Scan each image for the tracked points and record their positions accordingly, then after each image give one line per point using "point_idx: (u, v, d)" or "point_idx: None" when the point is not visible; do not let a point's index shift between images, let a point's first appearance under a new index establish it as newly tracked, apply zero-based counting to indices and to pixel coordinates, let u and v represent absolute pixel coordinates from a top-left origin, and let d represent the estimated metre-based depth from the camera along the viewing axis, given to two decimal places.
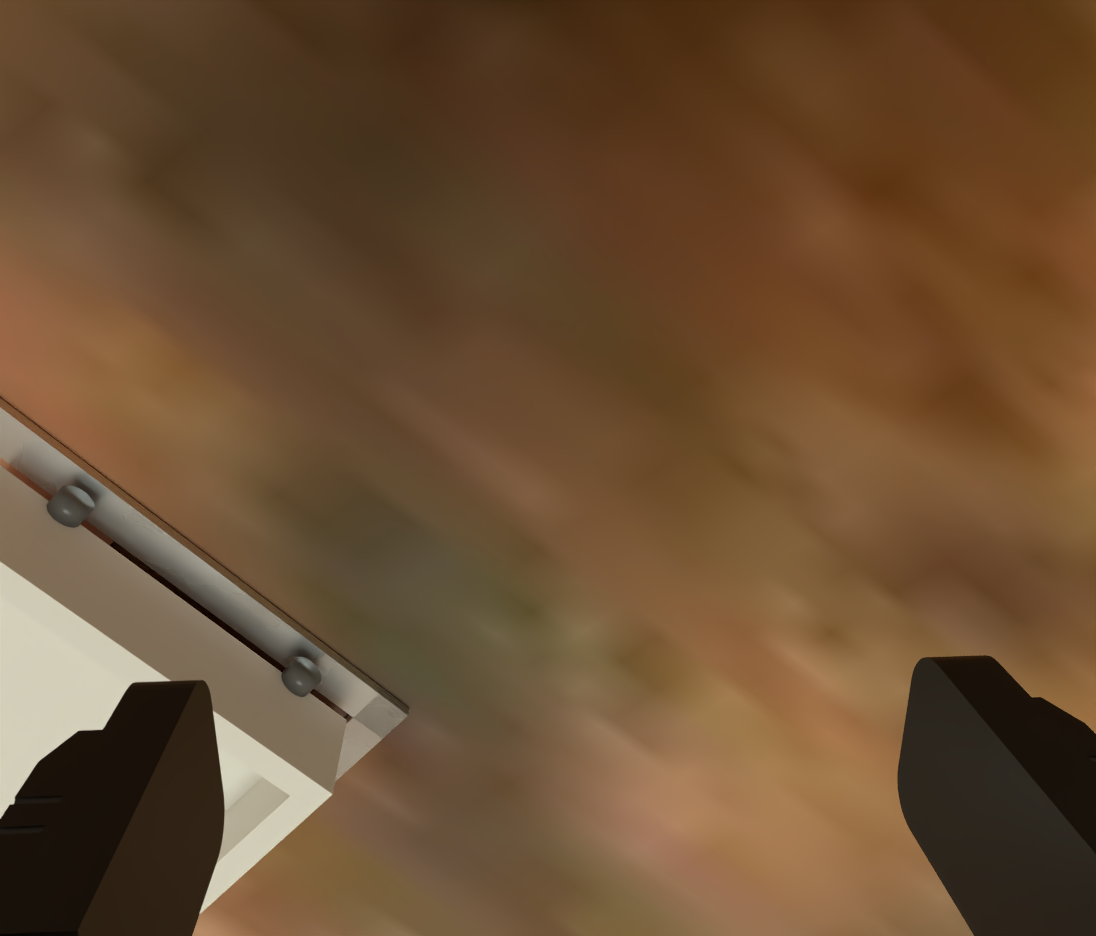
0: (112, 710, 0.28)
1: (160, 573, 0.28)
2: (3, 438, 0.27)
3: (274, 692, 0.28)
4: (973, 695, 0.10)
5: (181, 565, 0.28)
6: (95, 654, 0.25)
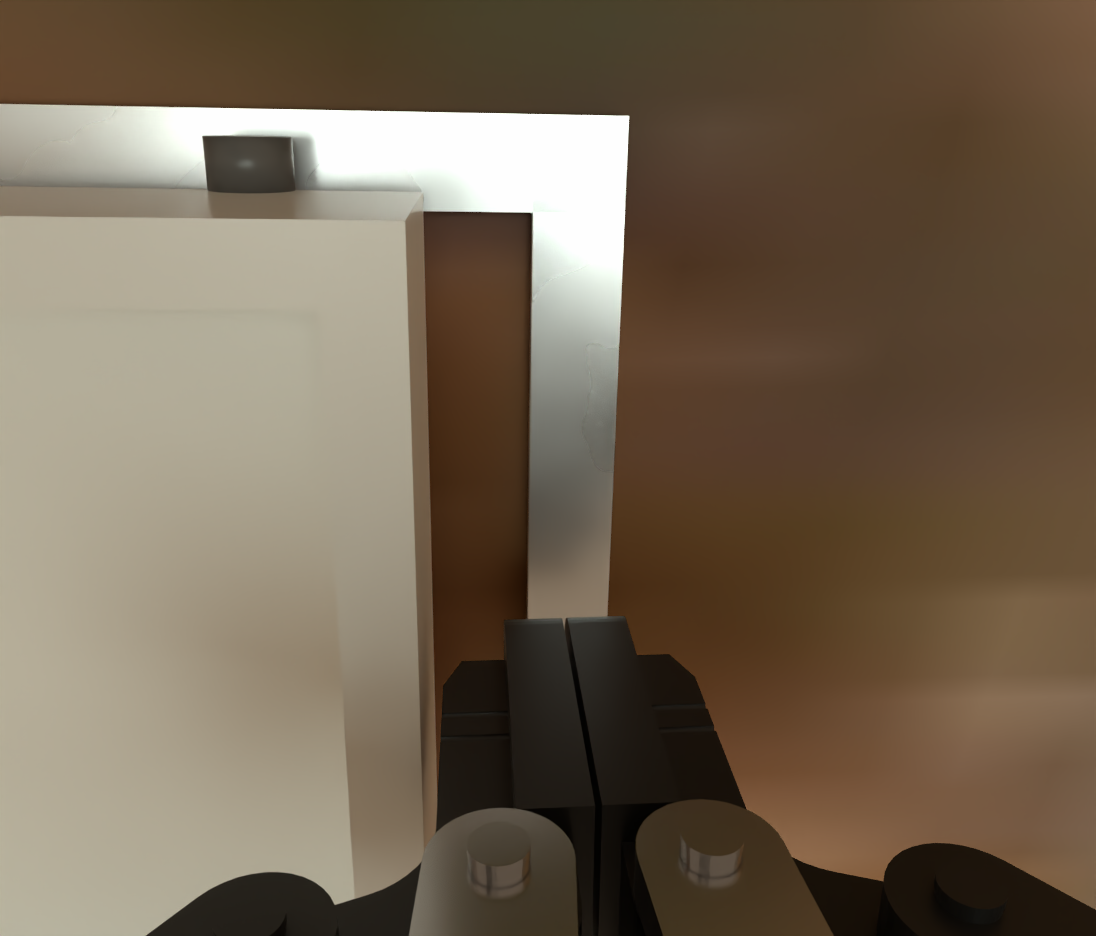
0: None
1: None
2: None
3: (181, 195, 0.11)
4: (583, 650, 0.11)
5: None
6: None
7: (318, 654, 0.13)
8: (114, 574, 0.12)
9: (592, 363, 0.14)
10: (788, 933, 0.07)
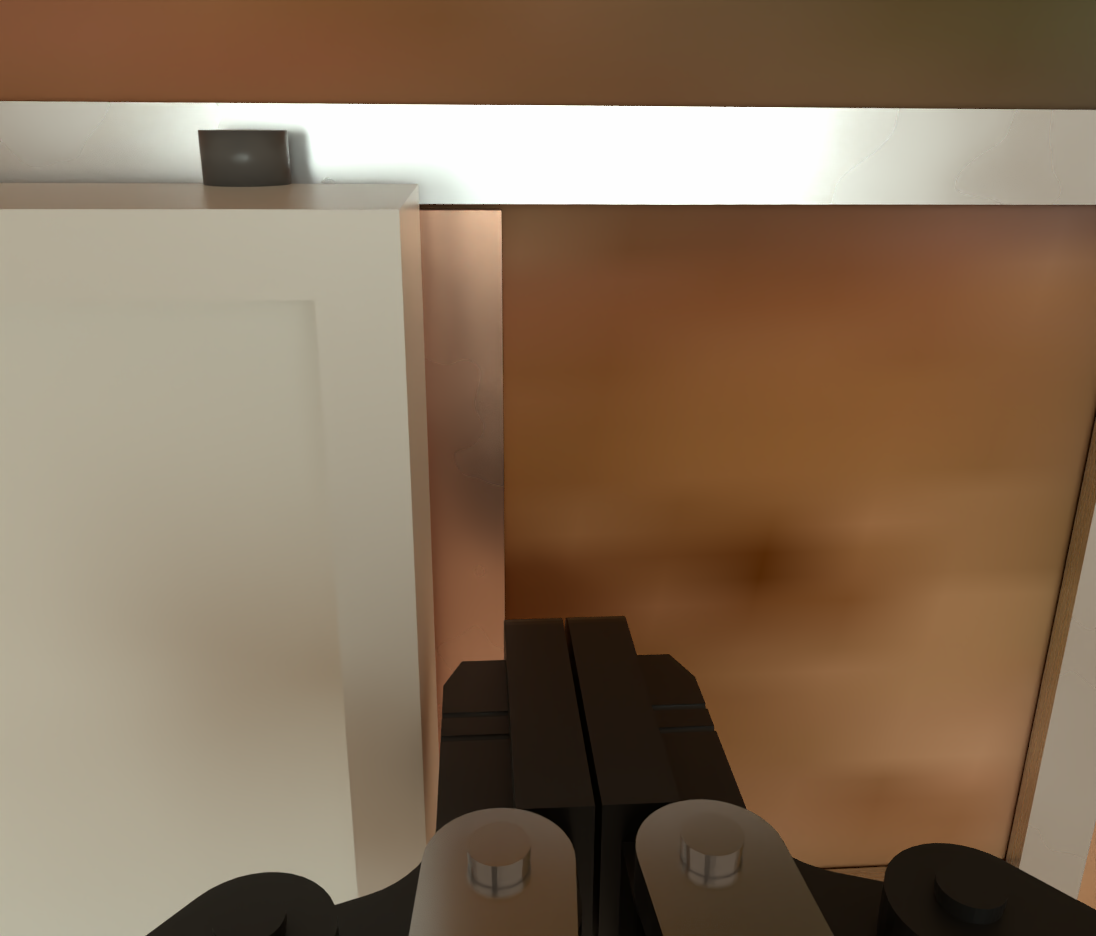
0: None
1: (621, 199, 0.13)
2: (185, 161, 0.12)
3: (177, 189, 0.11)
4: (583, 650, 0.11)
5: (644, 150, 0.13)
6: None
7: (319, 647, 0.13)
8: (114, 569, 0.12)
9: None
10: (788, 933, 0.07)
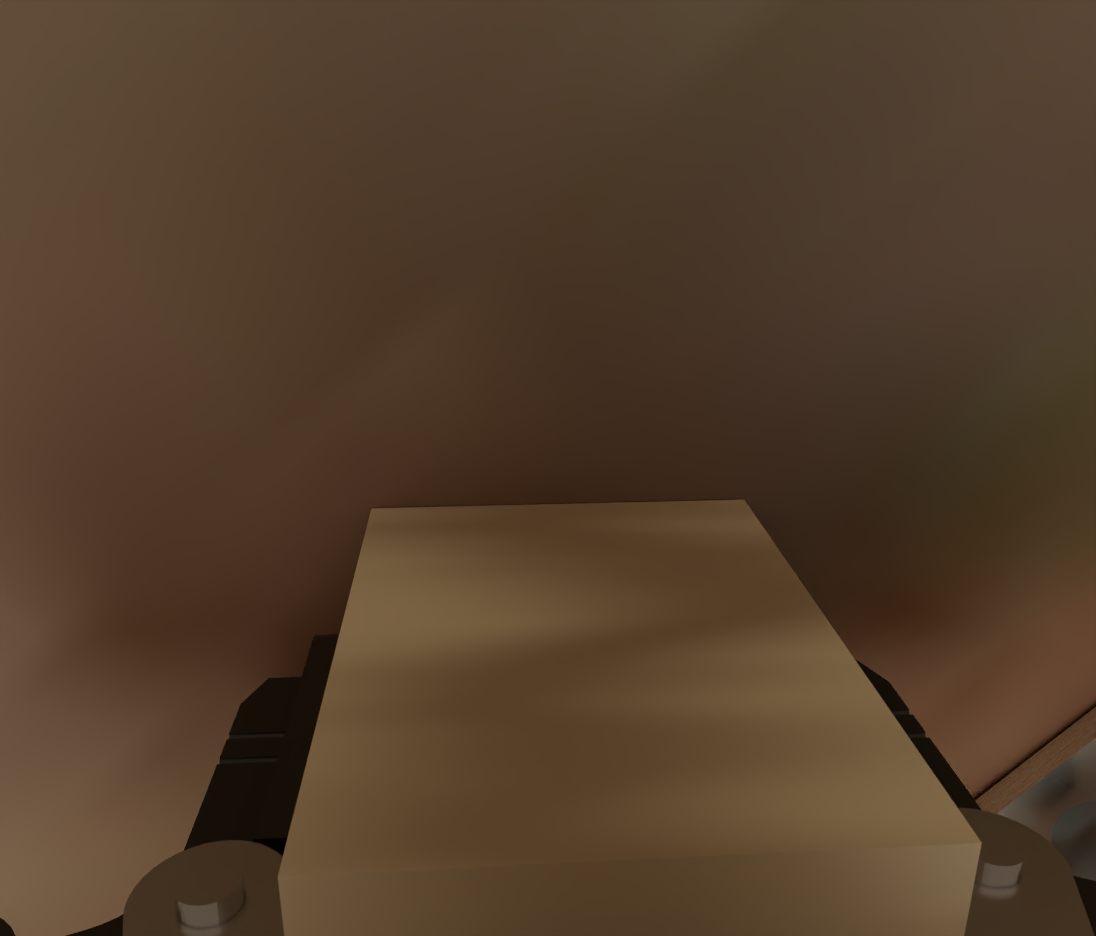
0: None
1: None
2: None
3: None
4: None
5: None
6: None
7: None
8: None
9: None
10: None
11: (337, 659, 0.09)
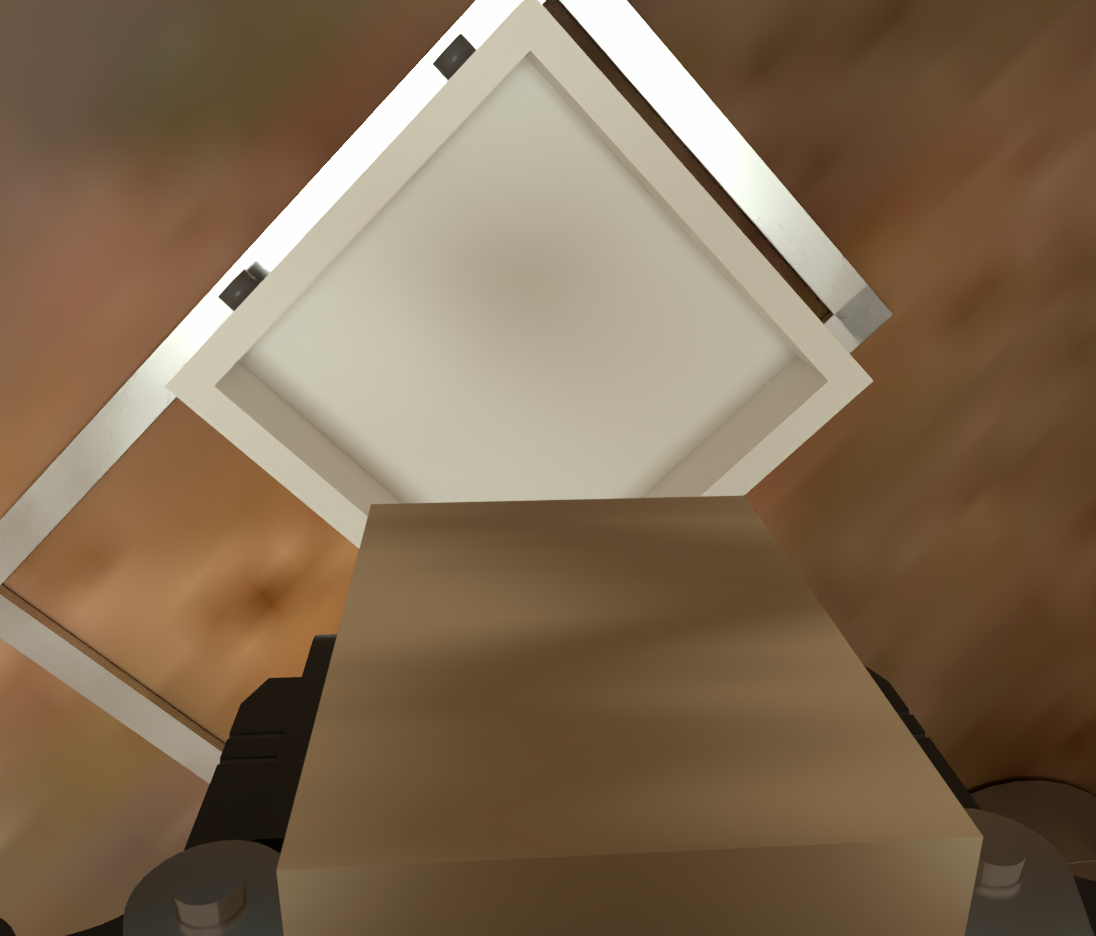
0: (566, 430, 0.27)
1: None
2: None
3: None
4: None
5: None
6: (710, 495, 0.25)
7: (409, 478, 0.27)
8: (504, 446, 0.27)
9: None
10: None
11: (335, 654, 0.08)
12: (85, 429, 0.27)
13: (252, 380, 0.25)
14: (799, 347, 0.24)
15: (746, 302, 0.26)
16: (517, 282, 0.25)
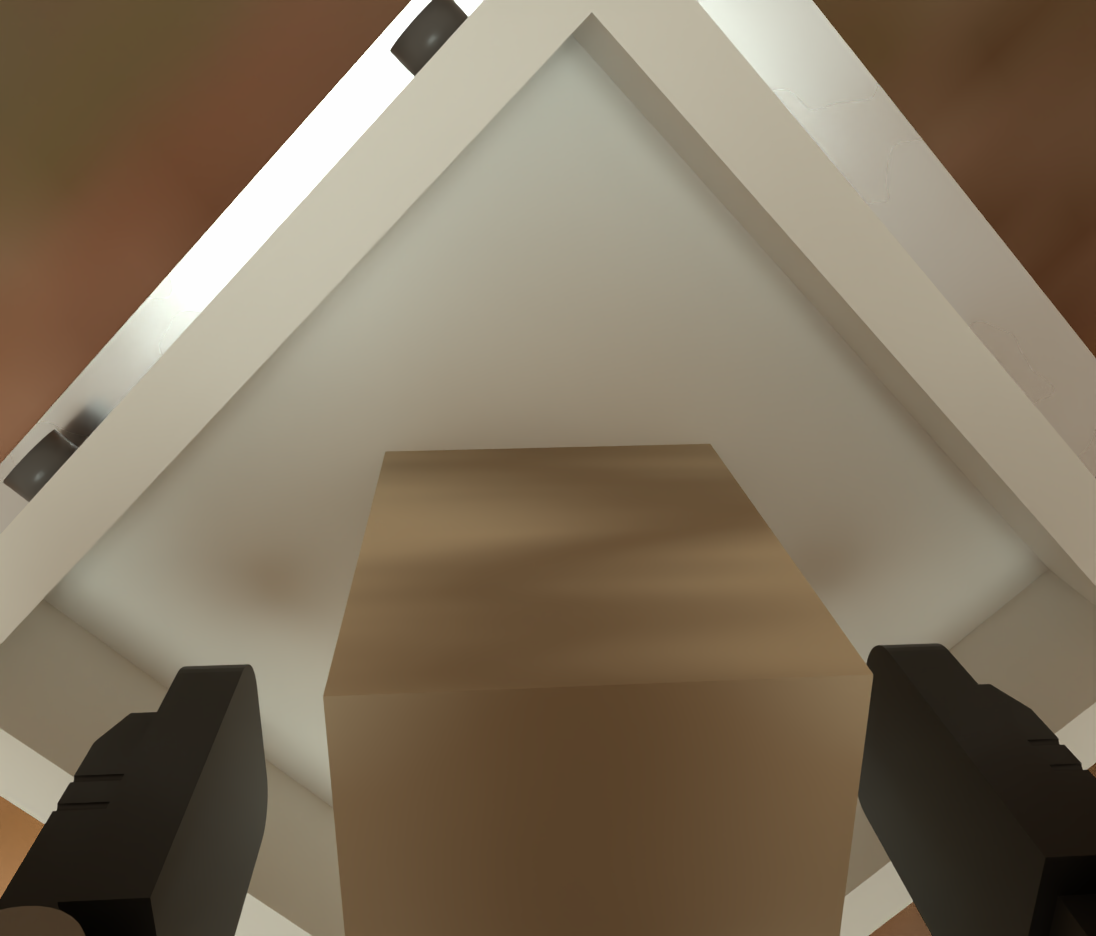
0: None
1: None
2: None
3: None
4: (921, 681, 0.10)
5: None
6: None
7: None
8: None
9: None
10: None
11: (360, 558, 0.10)
12: None
13: (64, 639, 0.14)
14: None
15: (967, 480, 0.14)
16: None
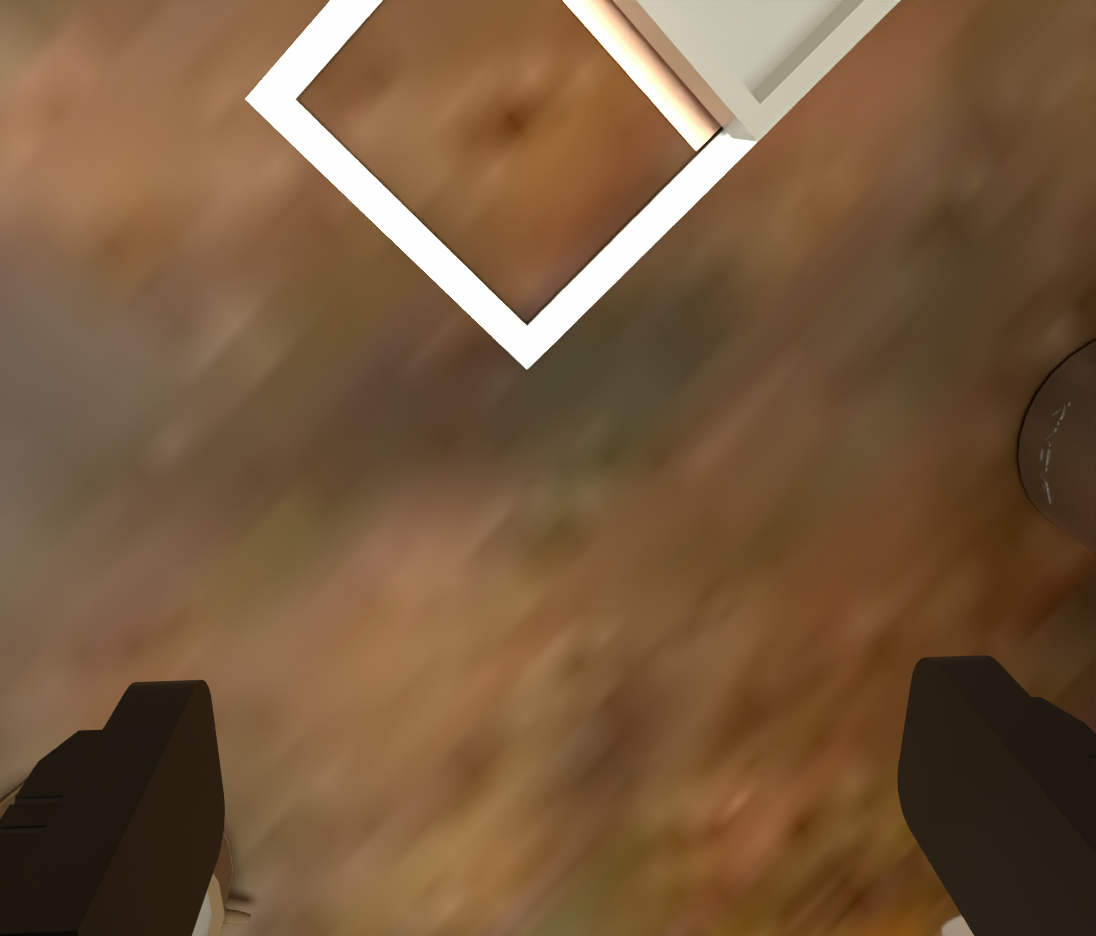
0: None
1: (669, 186, 0.36)
2: None
3: None
4: (973, 695, 0.10)
5: (674, 204, 0.36)
6: None
7: None
8: None
9: (473, 305, 0.37)
10: None
11: None
12: None
13: None
14: None
15: None
16: None
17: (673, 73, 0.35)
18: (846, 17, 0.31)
